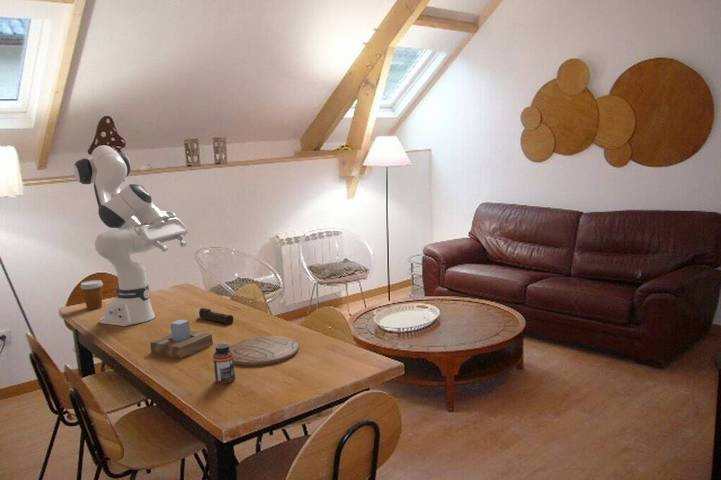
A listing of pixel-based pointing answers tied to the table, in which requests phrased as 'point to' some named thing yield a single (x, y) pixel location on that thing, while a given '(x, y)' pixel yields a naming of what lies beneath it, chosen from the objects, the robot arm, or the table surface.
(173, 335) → the square post
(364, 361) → the table surface
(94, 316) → the table surface
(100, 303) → the disposable coffee cup
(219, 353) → the supplement bottle
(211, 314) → the hand tool
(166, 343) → the walnut holder
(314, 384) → the table surface
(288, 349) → the trivet
